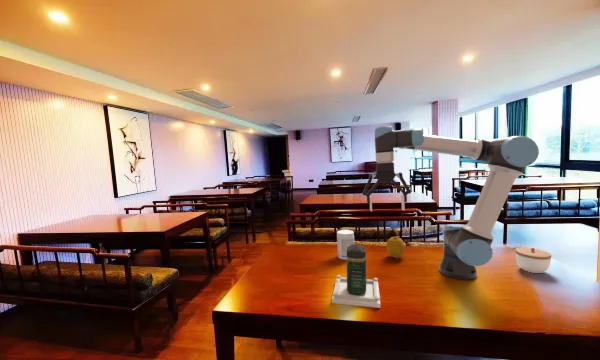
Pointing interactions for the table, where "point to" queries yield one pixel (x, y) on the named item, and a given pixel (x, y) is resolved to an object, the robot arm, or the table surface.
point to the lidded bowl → (533, 259)
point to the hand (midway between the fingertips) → (386, 210)
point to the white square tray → (367, 299)
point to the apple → (395, 247)
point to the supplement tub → (344, 242)
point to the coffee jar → (356, 269)
